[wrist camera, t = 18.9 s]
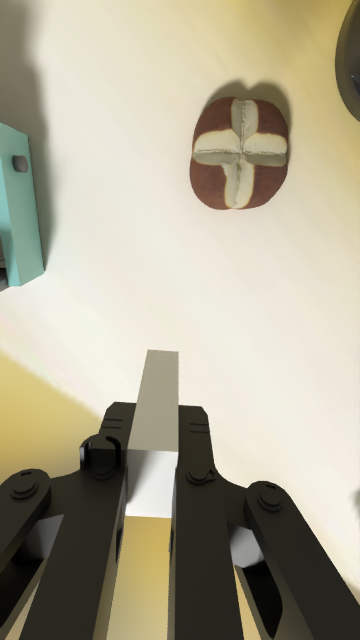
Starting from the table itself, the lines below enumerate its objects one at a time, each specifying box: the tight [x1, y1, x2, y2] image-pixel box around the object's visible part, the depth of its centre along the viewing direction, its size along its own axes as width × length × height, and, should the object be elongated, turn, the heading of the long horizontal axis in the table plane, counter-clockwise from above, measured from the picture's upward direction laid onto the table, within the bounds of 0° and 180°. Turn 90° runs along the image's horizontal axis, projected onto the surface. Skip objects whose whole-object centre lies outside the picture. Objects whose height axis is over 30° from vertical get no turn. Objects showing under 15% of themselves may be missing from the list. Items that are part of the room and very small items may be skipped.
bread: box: [190, 97, 288, 210], centre depth 34 cm, size 11×11×5 cm
